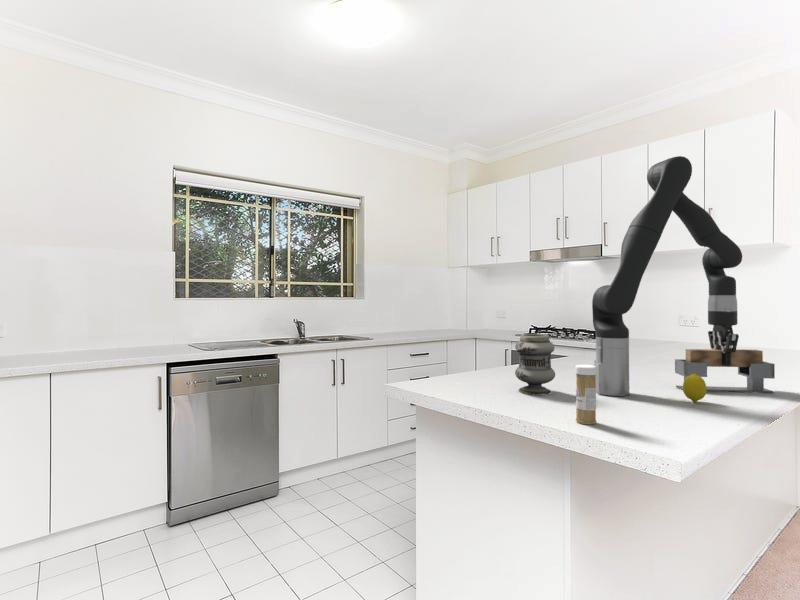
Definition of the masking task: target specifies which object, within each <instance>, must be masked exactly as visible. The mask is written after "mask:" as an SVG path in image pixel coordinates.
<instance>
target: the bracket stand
mask: <svg viewBox="0 0 800 600" xmlns="http://www.w3.org/2000/svg"><path fill="white" fill-rule="evenodd" d="M775 368H776V367H775V363H771V362H767V361H763V363H749V367H737V375H740V376H744V377H746V387H744V386H741V387H739V386H712V385H711V386H710V385H708V386H707V385H706V392H716V391H735V392H734V393H752V392H759V394H774V391H773V390H771V389H768V388H765V384H764V381H765V380H764V379H773V380H774V379H776V378H775V376H776V375H775ZM674 372H675V374H677V375H680V376H682V377H683V381H684V380H685V378H686V377H688V376H690V375H692V374H696V375H698V376H700V377H701V378H707V377H708V367H707V363H706V362H686V359H683V358H681V359H678V358H677V359H674ZM676 387H677V388H676ZM675 388H676V389H678V388H679V390H680V389H681V391H682V390H683V385H675Z"/></svg>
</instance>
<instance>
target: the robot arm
mask: <svg viewBox="0 0 800 600" xmlns="http://www.w3.org/2000/svg"><path fill="white" fill-rule="evenodd" d="M692 173H693V166H692V163H691V161H690V159H689V158H687V157H685V156H682V155H680V156H679V155H678V156H677V155H676V156H672V157H670V158H667V159H664V160H662V161H659V162H657V163H655V164H653V165H652V166H650V168H649V169H648V171H647V174H646V180H647V183H648V186H649V187H650V189H652V191H654V193H653V194H652V197H651V198H650V200H649V201H647V203H646V205H644V206H643V207H642V208H641V210H640V211H639V212H638V213H637V214H636V216H634V218H633V219H632V221H631V222H630V224H629V227H628V229H627V230H626V233H625V235H624V237H623V240H622V243H621V247H620V248H621V250H620V263H619V267H618V270H617V272H616V274H615V276H614V278H613V279H612V282H611V283H610V284H609V285H608V284H607V285H602V286H599V287H598V288H596V290H595V291H594V293H593V296H592V301H591V303H592V307H591V308H592V309H591V311H592V325H593V328H594V331H595V360H594V361H593V366H596V394H598V395H603V396H613V397H614V396H615V397H625V396H629V395H630V330H629V328H628V327H627V326H626V324H625V323H624V320H623V315H625V314H627V313H628V312H629V311H630V310H631V309H632V307H633V305H634V303H635V300H636V297H637V294H638V291H639V289H640V288H639V287H640V284H641V282H642V278H643V276H644V274H645V271H646V270H647V267H648V265H649V262H650V260H651V258H652V256H653V254H654V252H655V250H656V248H657V246H658V244H659V243H660V242H659V241H660V239H661V238H662V234H663V233H664V229H665V227H666V226H667V223H668V221H669V219H670V217H671V215H672V214H673V213H674V214H675V215H676V217H678V218H679V219H680V221H681V222H682V224H683V225H684V226H685V228H686V229H687V231H688V232H689V234H690V236H691V237H692V239H694V241H695V243H696V245H698V246H700V247H705V248H708V249H706V250H704V253H703V255H702V259H701V260H702V261H701V262H702V266H703V267H702V268H703V271H704V274H705V276H706V278H707V282H708V300H707V323H708V325H709V326H713V328H712V330H709V331H707V335H708V340H709V346H710V349H721V350H722V353H723V354H722V365H724V366H730V365H731V354H732V352H736V350H737V347H738V342H739V337H740V336H739V334H738V333H734V331H733V326H737V325H738V299H737V280H736V279H735V277H733V276H731V275H730V276H729V275H727V274H726V272H725V269H732V268H736V267H738V266H739V265H740V264H741V263H742V261H743V253H742V250H741V248H740V247H739V246H738V244H737V243H735V242H734V241H733V240H732V239H731V238H730V237H729V236H728V235H726V234H725V233H724V232H722V231H721V229H720V227H719V226H718V224H717V223H716V221H715V220H714V218H713V217H712V216H711V215H710V213H709V212H708V211H706V210H705V209H704V208H703V207H702V206H700V205H698V203H696V202H695V201H693V200H692V199H690V198H689V197H688V196H687V194H686V193H684V191H685V189H686V187H687V186H688V184H689V182H690V180H691V177H692V175H693V174H692ZM672 212H673V213H672Z"/></svg>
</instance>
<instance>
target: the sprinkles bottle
mask: <svg viewBox="0 0 800 600" xmlns="http://www.w3.org/2000/svg"><path fill="white" fill-rule="evenodd" d="M575 375H576V382H575V383H576V390H575V400H576V401H575V407H576V409H575V410H576V413H575V414H576V417H575V422H576V423H579V424H580V425H595V424H597V420H596V418H597V416H596V415H597V412H596V411H597V392H596V366H594V364H593V365H591V364H577V365H575Z"/></svg>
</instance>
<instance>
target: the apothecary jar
mask: <svg viewBox="0 0 800 600" xmlns="http://www.w3.org/2000/svg"><path fill="white" fill-rule="evenodd" d="M549 337H550V336H549V335H548V334H546V333H523V334H521V335H520V339H519V341H517V342H516V343H515V350H516V352H518V354H519V356H518V357H519V359H518V367H517V368H516V369H515V372H514V375H515V377H516V378H517V379H518V380H519V381H521V382H522V383H526V384H527V385H523V387H520V388H518V392H520V393H521V392H523V393H522V394H525V393H527V394H526V395H536V394H540V395H539V396H542V395H541V394H547V395H550V394H549V393H551V394H552V390H551V389H549V388H547V387H545V386H542V385H544V384H547V383H550V382H552V381H553V380H554V379H555V377H556V372H555V370H554V369H553V368H552V364H551V363H552V361H551V358H552V357H551V356H552V355H551V354H552V353H553V352H554V351H555V345H554V343H553V342H551V341H550V338H549Z"/></svg>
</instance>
